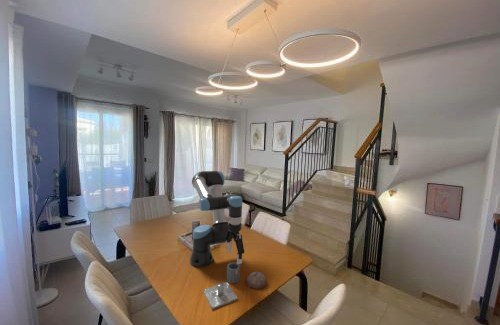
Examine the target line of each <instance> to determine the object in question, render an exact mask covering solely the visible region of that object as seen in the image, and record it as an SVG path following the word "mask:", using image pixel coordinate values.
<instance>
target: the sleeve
mask: <svg viewBox="0 0 500 325" xmlns="http://www.w3.org/2000/svg"><path fill="white" fill-rule="evenodd" d="M240 269H241V264H238V265H237V262H234V261H233V262H229V263H227V265H226V282H227V283H229V284H235V283H236V284H237V283H238V282H239V281H240V275H241V274H240V271H241V270H240Z"/></svg>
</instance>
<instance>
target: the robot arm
mask: <svg viewBox="0 0 500 325" xmlns="http://www.w3.org/2000/svg"><path fill="white" fill-rule="evenodd" d="M191 185H192V187H193V188H194V189H195V190H196V192H197V194H198V196H199V200H198V207H199V210H200V211H201V212H204V211H205V212H209V211H212V219H213V222H212V224H211V225H209V224H201V225H199V226H196V227H195V228H194V229H193V234H192V252H191V254H190V258H189V262H190V265H191V266H193V267H196V268H197V267H198V268H202V267H206V266H209V265H211V263H212V262H213V260H214V259H213V258H214V256H213V255H214V254H213V253H212V250H211V246H213V245H218V244H225V243H227V244H226V253H227V254H230V253H232V249H233V247H232V245H233V244H232V241H234V242H235V246H236V251H237V253H236V263H237V265H238V264H239V265H241V264H242V263H243V254H245V247H244V241H243V234H240V231H241V230H242V222H243V221H242V218H243V217H242V214H243V198H242V196H240V195H231V194H224V195H223V192H222V188H223V187H224V185H225V175H224V173H223V172H222V171H221V170H207V171H205V170H203V171H201V170H200V171H198V172H197V173H196V174H194V175H193V177H192V179H191ZM225 209H227V210H228V220H227V219H226V214H225Z"/></svg>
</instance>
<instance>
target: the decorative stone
mask: <svg viewBox="0 0 500 325" xmlns="http://www.w3.org/2000/svg"><path fill="white" fill-rule="evenodd" d="M245 279H246V285H247V287H249V288H250V289H254V290H261V289H263V288H265V287H266V286H267V282H268V281H267V277H266V276H265V274H263V272H260V271H252V272H251V273H249V274H248V275H247V277H246V278H245Z"/></svg>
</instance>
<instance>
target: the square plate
mask: <svg viewBox="0 0 500 325" xmlns="http://www.w3.org/2000/svg"><path fill="white" fill-rule="evenodd" d="M202 292H203V294H204V297H205V298H206V300H207V303H208V305H209V307H210V309H211V310H215V309H219V308H220V307H222V306H226V305H228V304H231V303H232V302H235V301H238V300H239V298H238V296H237V294H236V293H235V291H233V288H232V287H231V286H230V283H229V282H228V281H225V282H218V283H216V285H213V286H211V287H210V286H209V287H208V288H204V289H202Z"/></svg>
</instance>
